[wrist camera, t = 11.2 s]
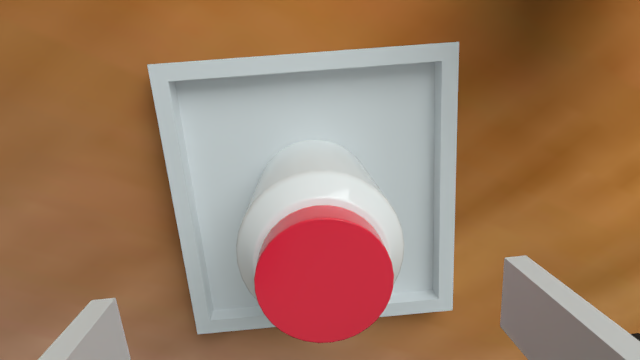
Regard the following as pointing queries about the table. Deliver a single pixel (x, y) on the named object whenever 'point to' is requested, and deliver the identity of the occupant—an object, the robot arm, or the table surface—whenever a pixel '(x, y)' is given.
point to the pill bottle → (319, 243)
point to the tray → (300, 125)
